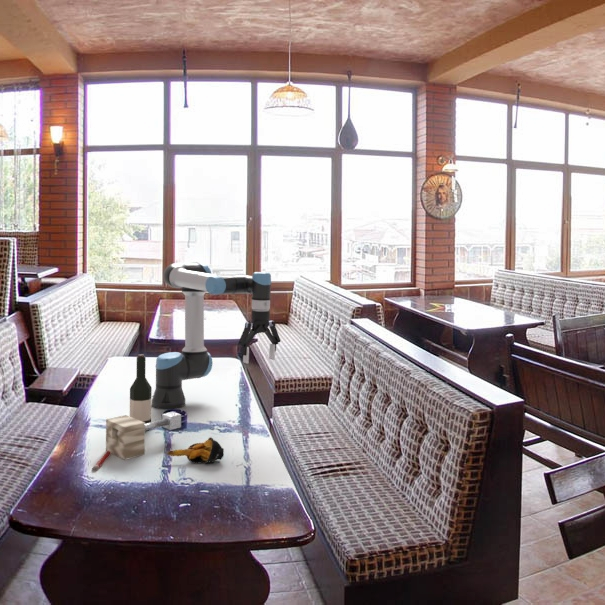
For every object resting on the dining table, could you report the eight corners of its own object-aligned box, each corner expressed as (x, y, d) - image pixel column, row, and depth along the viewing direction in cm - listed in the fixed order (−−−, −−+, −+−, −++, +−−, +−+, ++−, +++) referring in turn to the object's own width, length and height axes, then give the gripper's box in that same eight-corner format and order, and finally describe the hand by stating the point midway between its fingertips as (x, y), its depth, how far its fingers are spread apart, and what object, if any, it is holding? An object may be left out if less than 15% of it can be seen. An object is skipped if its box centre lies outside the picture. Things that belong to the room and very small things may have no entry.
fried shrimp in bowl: (228, 453, 211) (178, 441, 204) (215, 476, 215) (166, 465, 208) (226, 435, 219) (178, 423, 212) (213, 458, 223) (166, 447, 216)
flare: (91, 471, 203) (91, 466, 203) (106, 455, 218) (106, 450, 218) (97, 472, 203) (97, 467, 203) (110, 455, 218) (111, 451, 218)
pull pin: (113, 438, 220) (114, 425, 219) (172, 424, 239) (173, 411, 238) (121, 442, 216) (121, 428, 216) (180, 427, 235) (181, 414, 235)
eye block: (106, 450, 222) (106, 419, 221) (127, 445, 228) (127, 414, 227) (124, 459, 214) (124, 427, 213) (146, 453, 220) (146, 422, 219)
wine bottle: (155, 427, 250) (156, 354, 246) (141, 433, 242) (142, 357, 239) (139, 424, 253) (139, 352, 250) (125, 429, 246) (125, 355, 242)
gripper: (241, 312, 242) (239, 366, 244) (289, 309, 258) (288, 359, 261) (230, 310, 247) (228, 362, 250) (278, 307, 264) (276, 356, 266)
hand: (259, 361), depth 255 cm, fingers open, 13 cm apart
